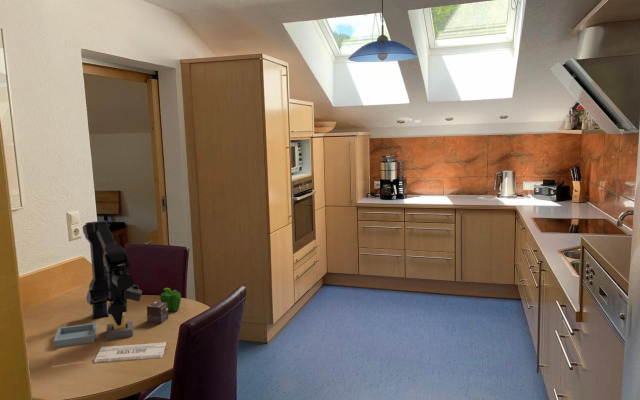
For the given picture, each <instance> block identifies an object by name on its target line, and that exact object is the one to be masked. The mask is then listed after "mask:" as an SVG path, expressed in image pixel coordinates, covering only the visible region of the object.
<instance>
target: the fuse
mask: <svg viewBox="0 0 640 400" xmlns="http://www.w3.org/2000/svg"><path fill="white" fill-rule="evenodd" d="M125 313H126V312H123V315H122V321H121V325H119V326H118V325H117V323H116V321H115V320H114V318H113V317H112V322H113V323H112V324H113V325H114V330H117V329H125V328H126V326H125V322H126V314H125Z"/></svg>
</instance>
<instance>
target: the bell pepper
mask: <svg viewBox="0 0 640 400" xmlns="http://www.w3.org/2000/svg"><path fill="white" fill-rule="evenodd" d="M163 291H165V292H161V293H160V297H159V298H160V299H159V301H160V302H167V305H168V312H177V311H179V309H180V306H181V301H182V295H181V293H180V291H177V290H176V289H174V290H171V288H169V287H165V288H163Z"/></svg>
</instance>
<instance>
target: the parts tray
mask: <svg viewBox="0 0 640 400" xmlns="http://www.w3.org/2000/svg"><path fill="white" fill-rule="evenodd" d="M97 328H98V327H97V322H92V323H91V322H90V323H86V324H77V325H70V326H68V325H67V326H63V327H57V331H56V333H55V336H54V339H53V349H54V348H55V349H59V348H60V347H67V346H73V345H74V346H75V345H79V344H86V343H87V344H88V343H89V344H90V343H95V341H96V335H97V330H98V329H97Z"/></svg>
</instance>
